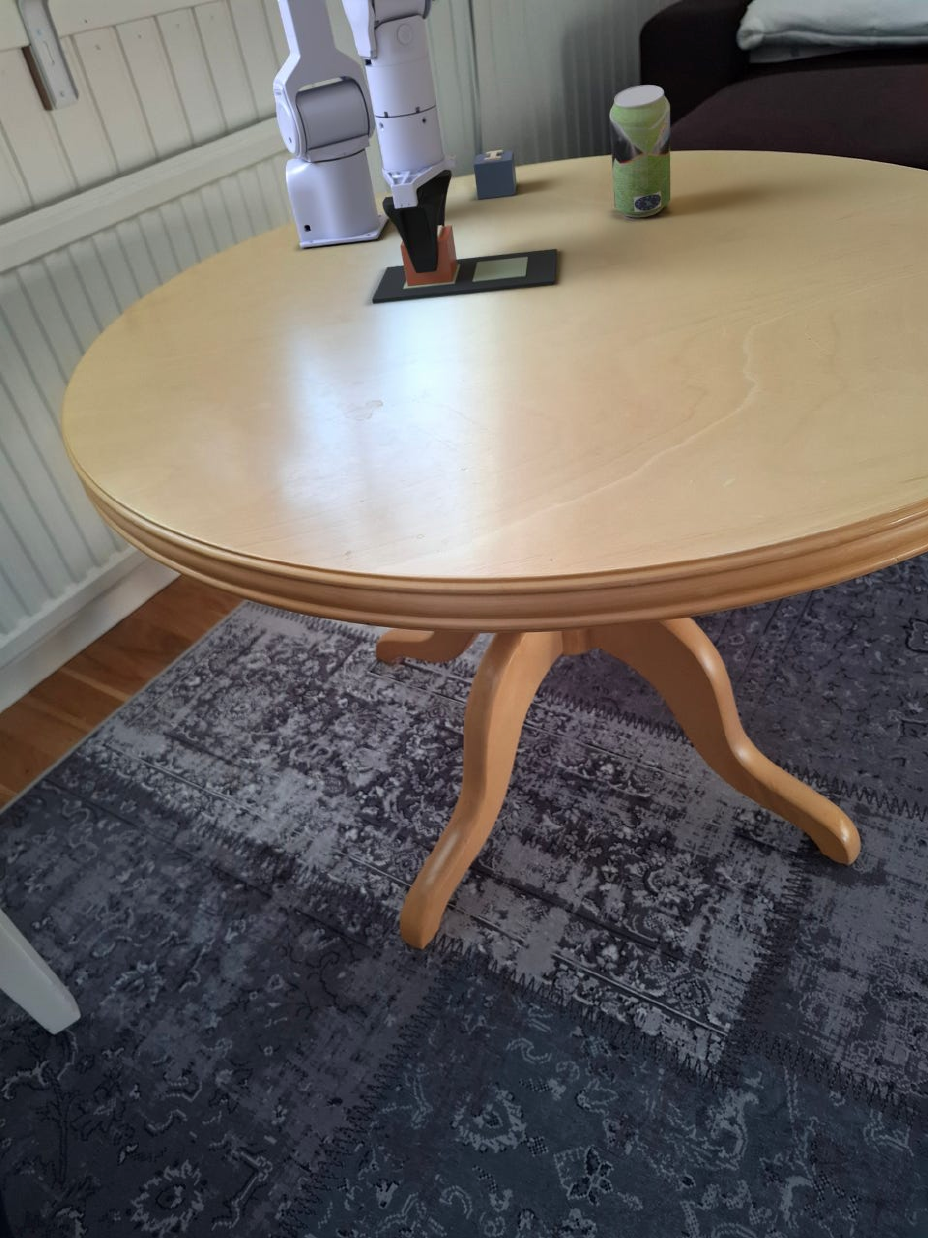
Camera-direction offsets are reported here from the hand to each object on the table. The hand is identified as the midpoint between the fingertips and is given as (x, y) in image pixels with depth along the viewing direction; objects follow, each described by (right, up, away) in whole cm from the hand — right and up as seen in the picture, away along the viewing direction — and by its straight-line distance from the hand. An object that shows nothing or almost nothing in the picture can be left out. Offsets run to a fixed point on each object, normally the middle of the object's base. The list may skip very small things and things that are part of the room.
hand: (429, 261), depth 89 cm
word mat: (+4, -1, +1) cm, 4 cm away
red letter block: (0, -1, +1) cm, 1 cm away
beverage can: (+23, +8, +8) cm, 26 cm away
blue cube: (+8, +18, +22) cm, 29 cm away
